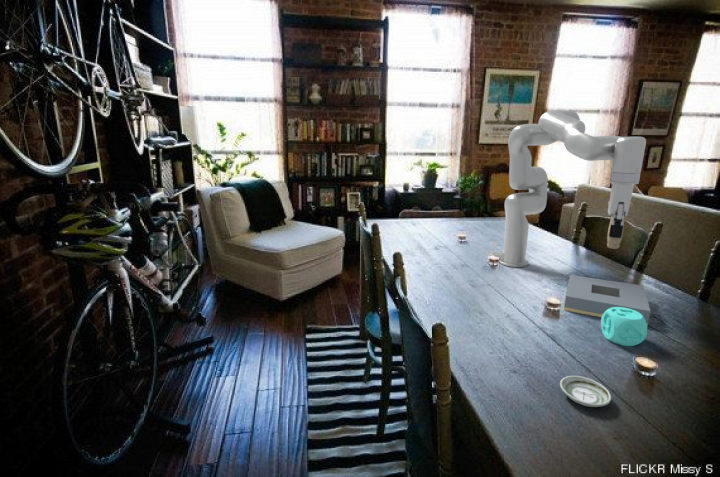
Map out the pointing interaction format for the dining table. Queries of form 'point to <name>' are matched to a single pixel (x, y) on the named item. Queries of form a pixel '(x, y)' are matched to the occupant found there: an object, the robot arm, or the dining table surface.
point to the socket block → (604, 296)
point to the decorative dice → (623, 326)
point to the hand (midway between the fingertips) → (614, 235)
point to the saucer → (585, 391)
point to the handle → (612, 241)
